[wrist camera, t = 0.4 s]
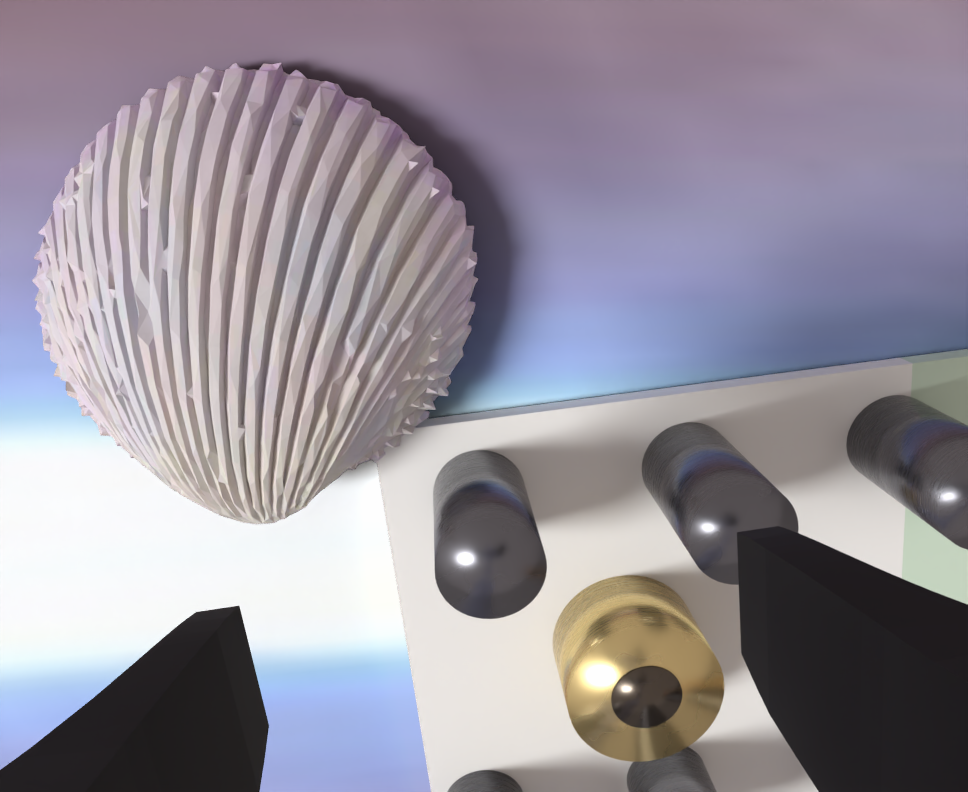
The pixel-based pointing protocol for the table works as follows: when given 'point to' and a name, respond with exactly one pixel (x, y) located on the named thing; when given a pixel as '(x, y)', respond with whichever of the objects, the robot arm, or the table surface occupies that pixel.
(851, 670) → the robot arm
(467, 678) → the field mat
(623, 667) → the brass knob
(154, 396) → the seashell
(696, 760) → the spacers
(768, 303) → the table surface
